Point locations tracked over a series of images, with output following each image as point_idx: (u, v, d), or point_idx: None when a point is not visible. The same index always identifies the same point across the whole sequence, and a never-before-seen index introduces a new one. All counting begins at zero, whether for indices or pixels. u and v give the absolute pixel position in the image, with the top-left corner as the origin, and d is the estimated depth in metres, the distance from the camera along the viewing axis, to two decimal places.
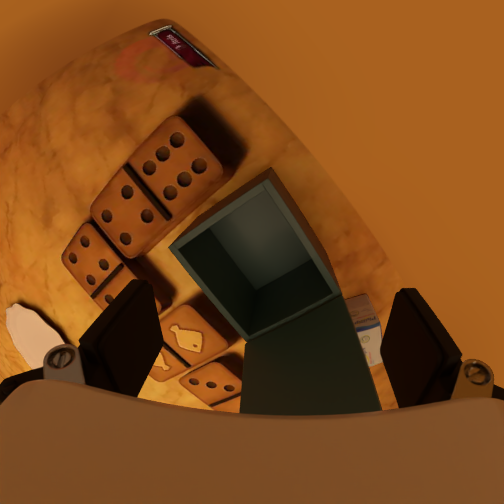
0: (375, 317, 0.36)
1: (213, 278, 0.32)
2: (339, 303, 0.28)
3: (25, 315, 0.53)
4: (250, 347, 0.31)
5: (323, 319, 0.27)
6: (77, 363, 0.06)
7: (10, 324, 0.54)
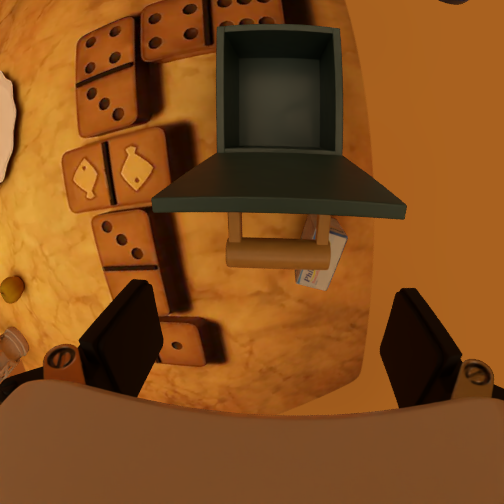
0: (343, 232, 0.34)
1: (227, 81, 0.26)
2: (340, 157, 0.25)
3: None
4: (222, 154, 0.26)
5: (320, 157, 0.24)
6: (77, 363, 0.06)
7: None
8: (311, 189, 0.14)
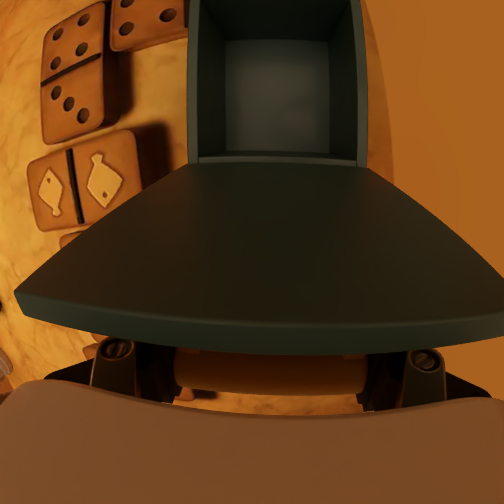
0: None
1: (205, 63, 0.18)
2: (365, 170, 0.17)
3: None
4: (192, 166, 0.17)
5: (338, 171, 0.16)
6: (136, 352, 0.06)
7: None
8: (350, 274, 0.06)
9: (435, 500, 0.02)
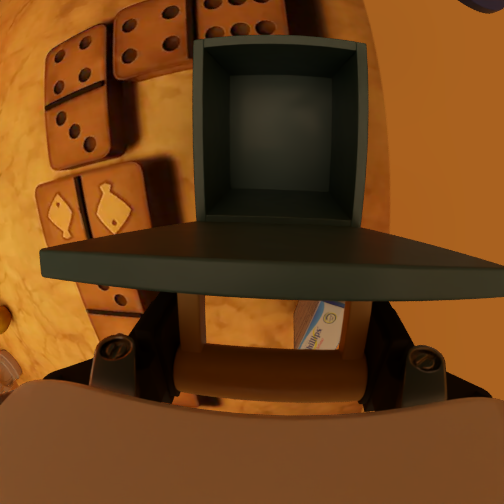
0: None
1: (210, 116, 0.20)
2: None
3: None
4: None
5: (333, 227, 0.18)
6: (135, 352, 0.06)
7: None
8: (340, 251, 0.07)
9: (435, 500, 0.02)
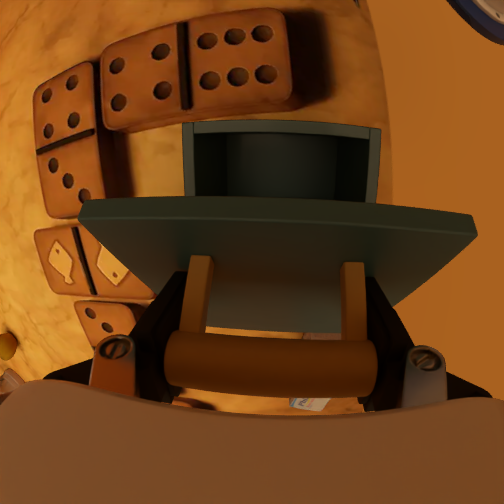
0: None
1: None
2: None
3: None
4: None
5: None
6: (135, 352, 0.06)
7: None
8: None
9: (435, 500, 0.02)
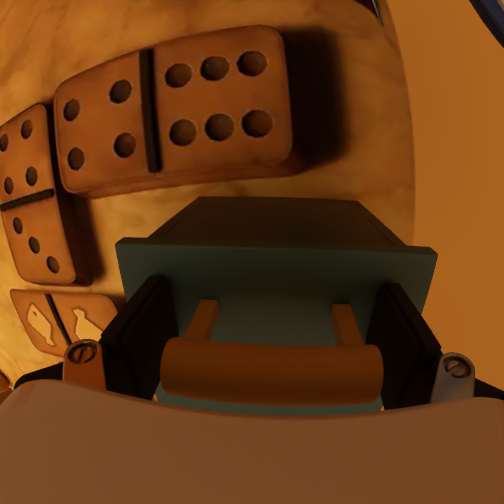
0: None
1: None
2: None
3: None
4: None
5: None
6: (100, 358, 0.06)
7: None
8: None
9: (435, 500, 0.02)
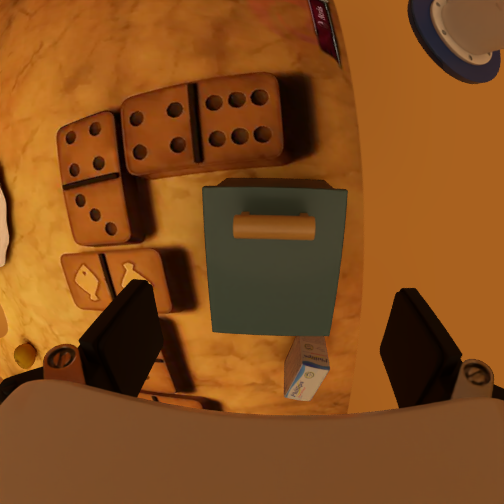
0: (327, 361, 0.37)
1: None
2: None
3: None
4: None
5: None
6: (77, 363, 0.06)
7: None
8: None
9: (435, 500, 0.02)
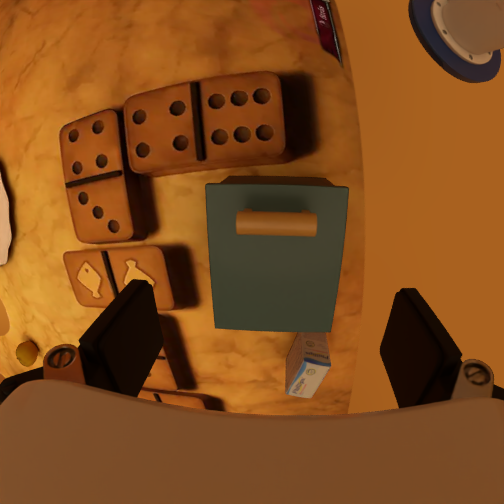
0: (328, 358, 0.38)
1: None
2: None
3: None
4: None
5: None
6: (77, 363, 0.06)
7: None
8: None
9: (435, 500, 0.02)
